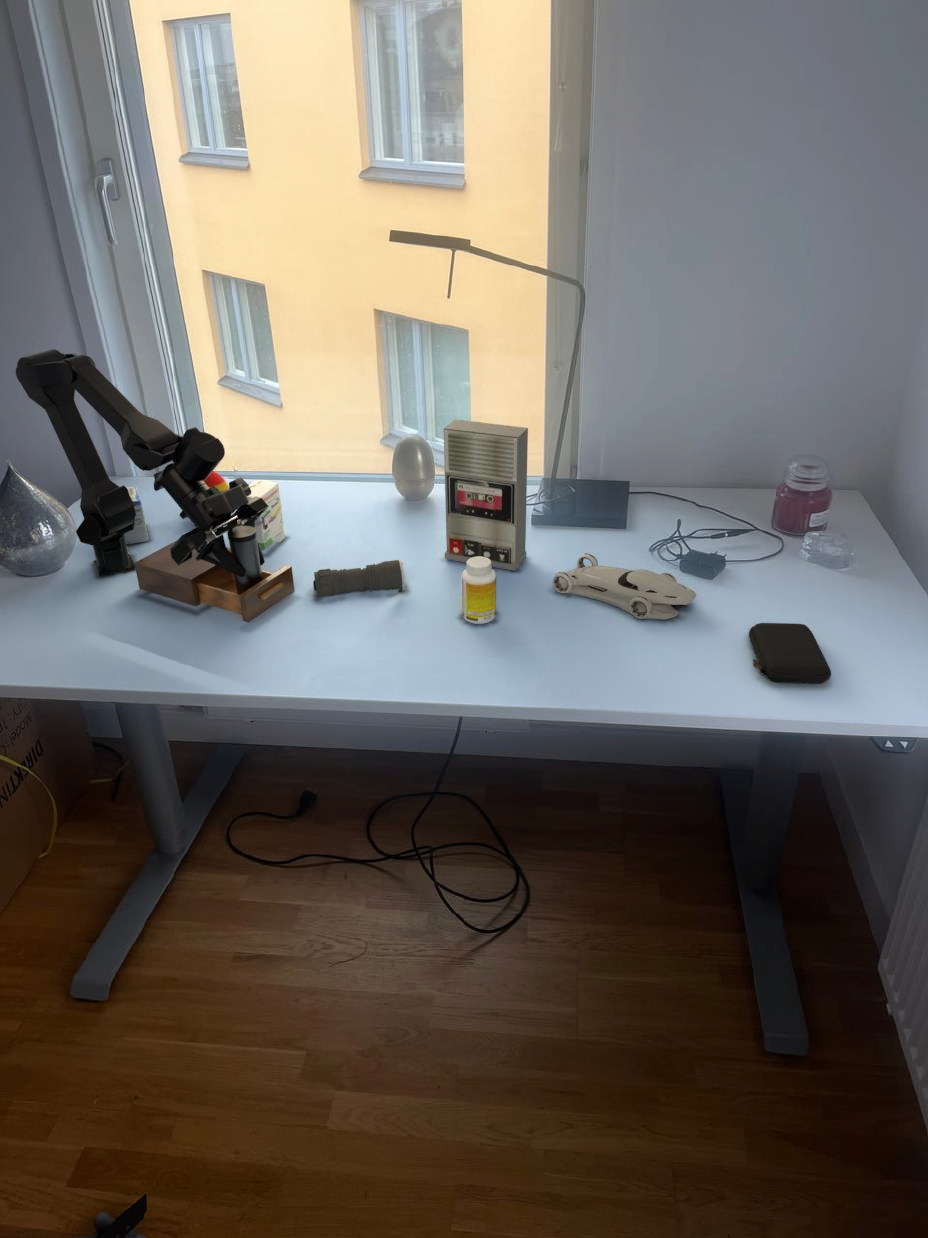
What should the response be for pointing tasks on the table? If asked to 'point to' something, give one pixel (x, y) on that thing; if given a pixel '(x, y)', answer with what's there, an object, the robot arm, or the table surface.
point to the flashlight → (360, 579)
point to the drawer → (250, 603)
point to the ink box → (268, 513)
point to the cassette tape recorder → (486, 492)
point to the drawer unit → (172, 575)
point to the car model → (626, 588)
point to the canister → (245, 556)
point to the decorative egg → (216, 482)
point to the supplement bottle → (479, 591)
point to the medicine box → (137, 520)
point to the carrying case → (788, 653)
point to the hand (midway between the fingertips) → (253, 569)
